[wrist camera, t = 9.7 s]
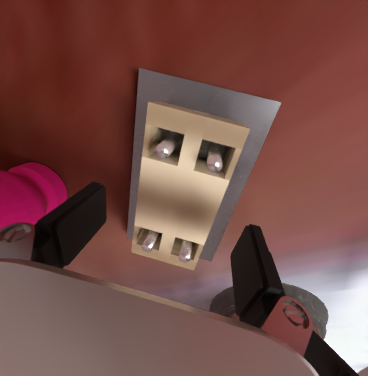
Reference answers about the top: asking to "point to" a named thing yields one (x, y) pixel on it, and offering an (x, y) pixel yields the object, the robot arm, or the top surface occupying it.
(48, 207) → the pepper mill
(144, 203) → the tan rectangular block
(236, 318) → the tankard
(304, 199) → the top surface
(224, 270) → the top surface
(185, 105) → the chassis
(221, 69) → the top surface
